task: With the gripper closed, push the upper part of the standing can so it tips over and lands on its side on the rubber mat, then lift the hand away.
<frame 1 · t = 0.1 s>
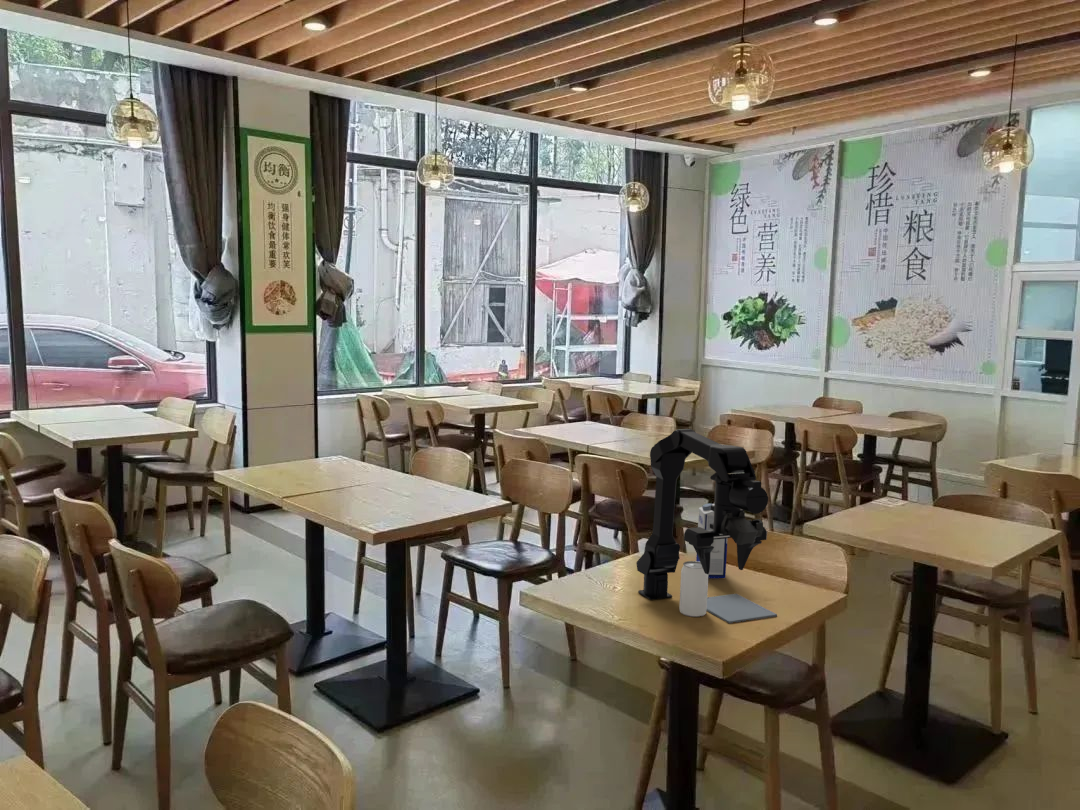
hand: (723, 571, 194), 15 cm above the table, tool pointing down, fingers open, 9 cm apart
can: (692, 613, 209), on the table
milk carton: (710, 575, 240), on the table
mat: (732, 608, 213), on the table
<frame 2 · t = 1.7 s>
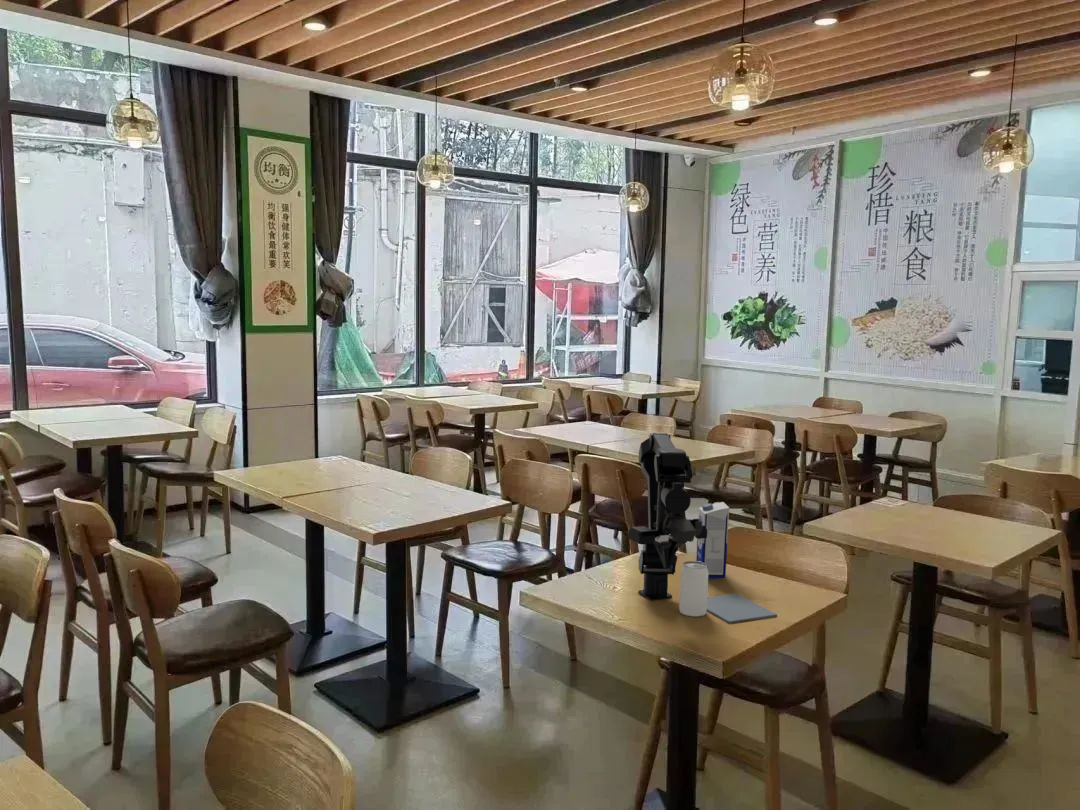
hand: (666, 568, 205), 12 cm above the table, tool pointing down, fingers closed
nothing on the table moved.
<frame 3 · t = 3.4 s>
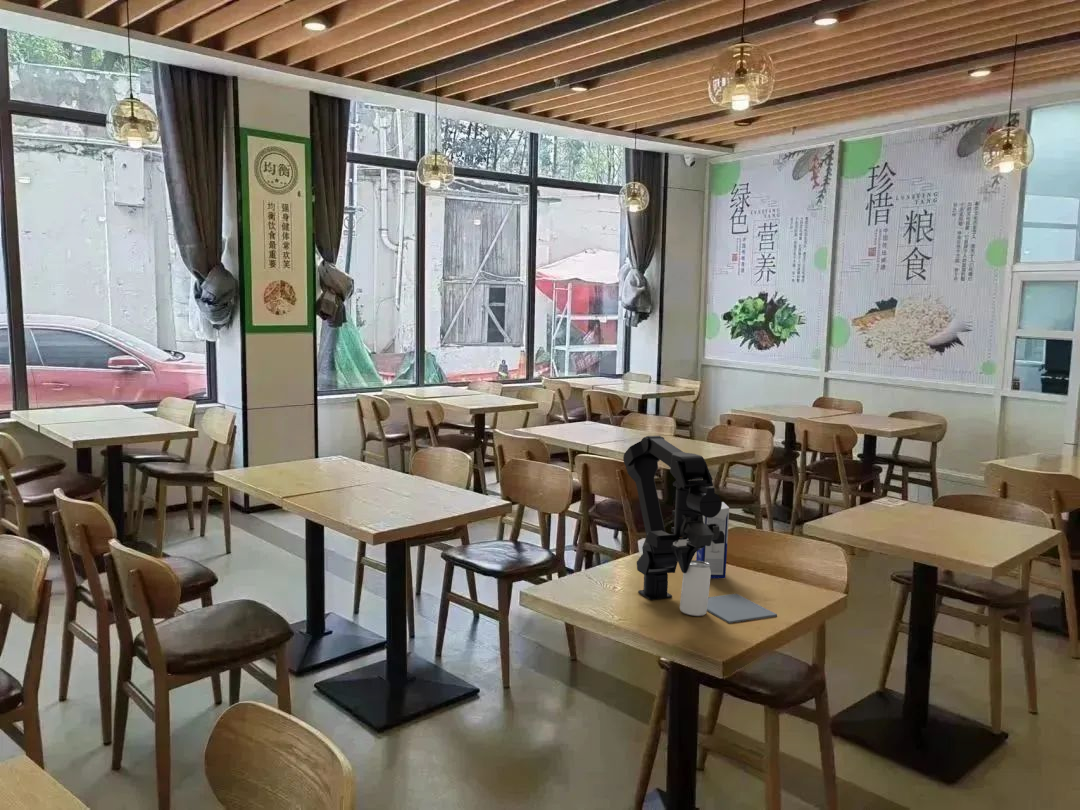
hand: (684, 572, 207), 10 cm above the table, tool pointing down, fingers closed
can: (692, 612, 209), on the table, touching gripper
everything else where it was.
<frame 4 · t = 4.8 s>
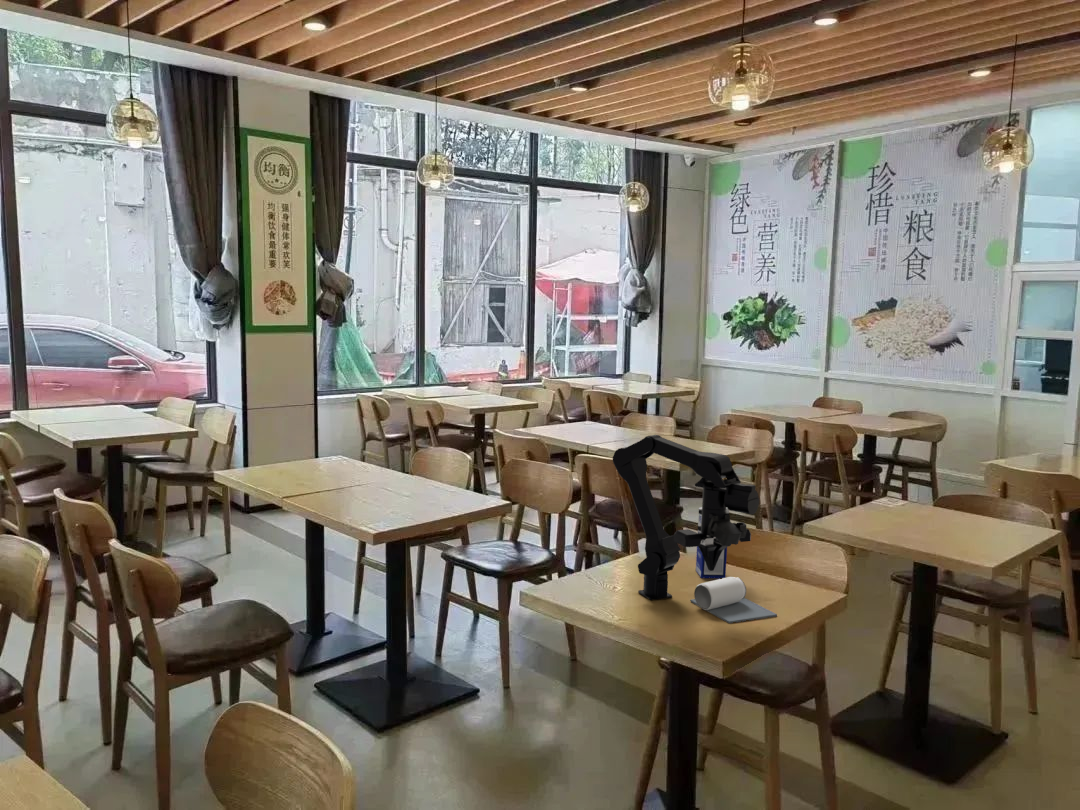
hand: (710, 570, 210), 10 cm above the table, tool pointing down, fingers closed
can: (701, 597, 210), point 3 cm above the table, touching mat
everything else where it was.
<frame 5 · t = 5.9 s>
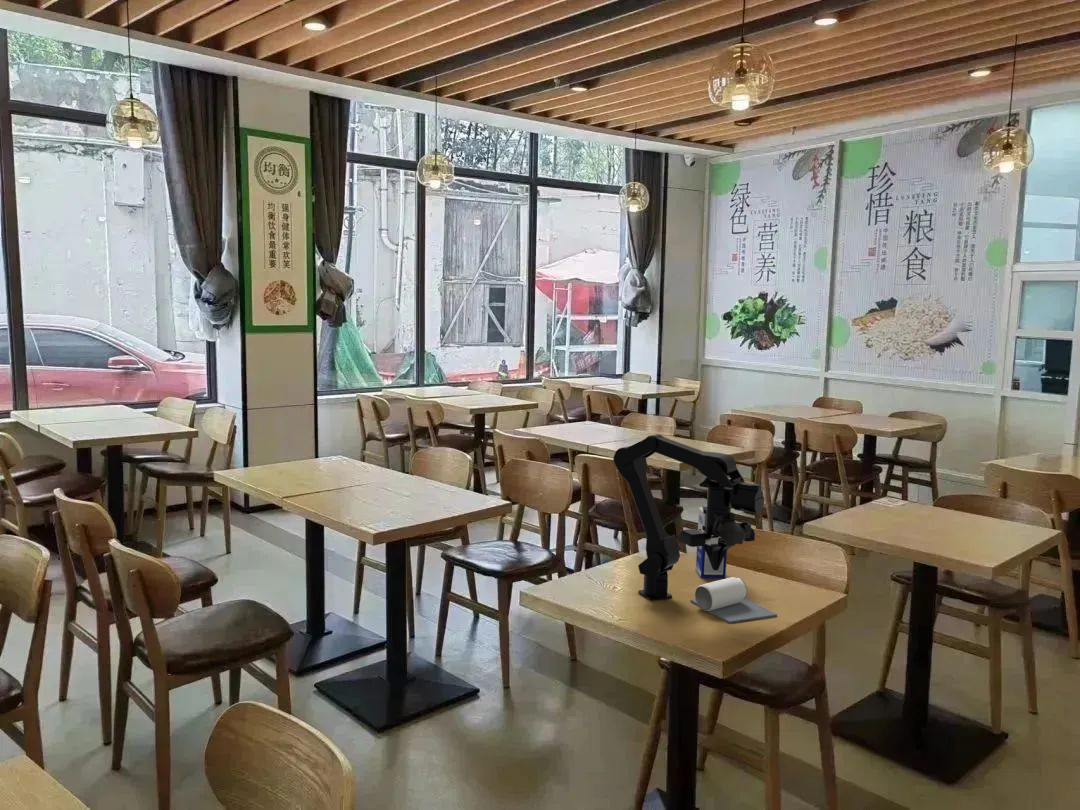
hand: (715, 570, 210), 10 cm above the table, tool pointing down, fingers closed
can: (702, 598, 210), point 3 cm above the table, touching mat
everything else where it was.
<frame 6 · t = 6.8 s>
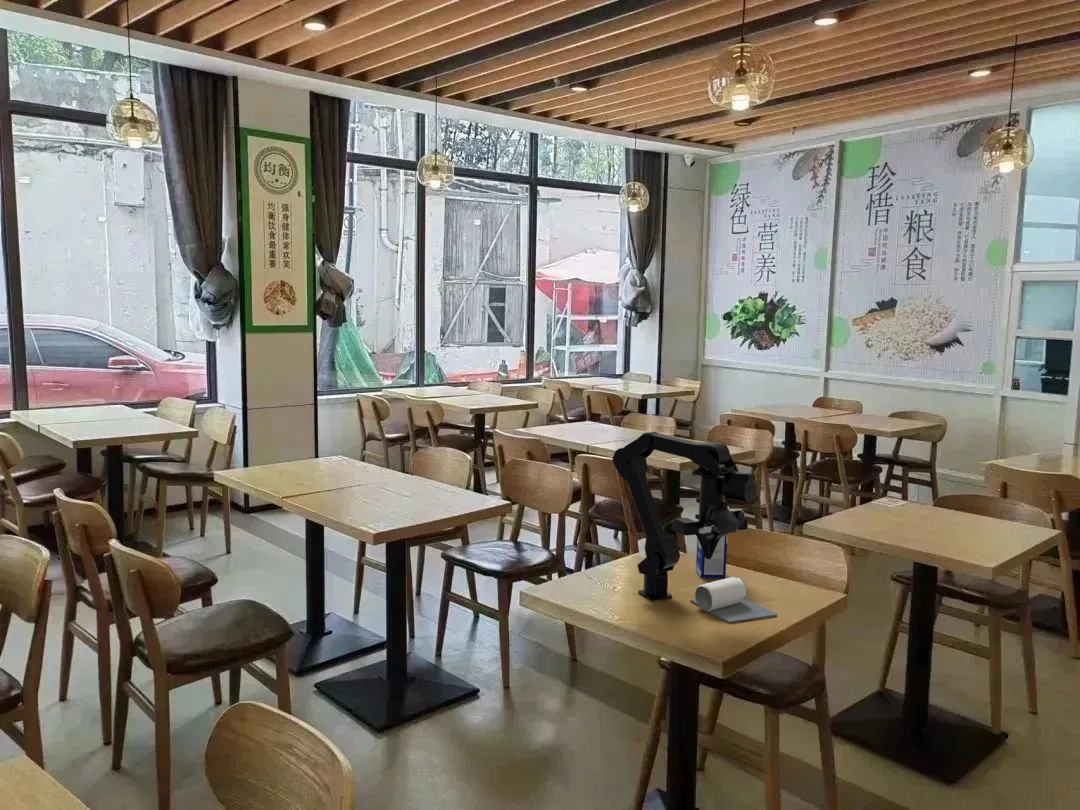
hand: (708, 558, 210), 13 cm above the table, tool pointing down, fingers closed
nothing on the table moved.
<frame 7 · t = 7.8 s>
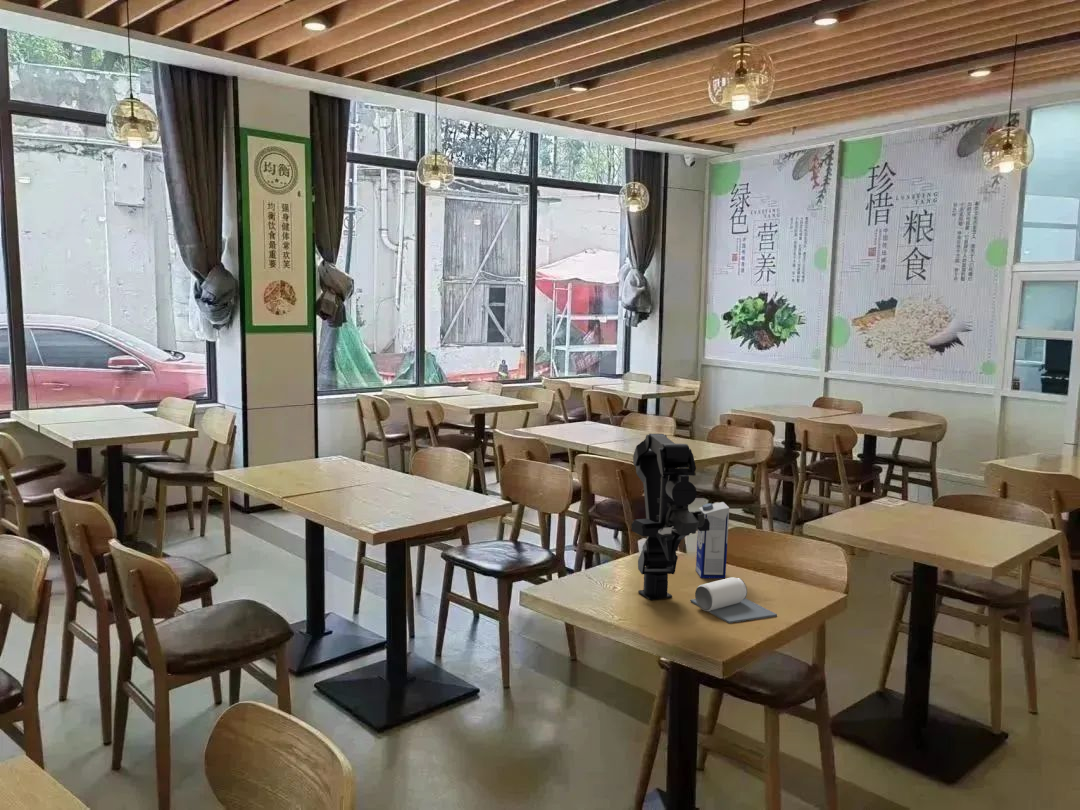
hand: (669, 560, 207), 13 cm above the table, tool pointing down, fingers closed
nothing on the table moved.
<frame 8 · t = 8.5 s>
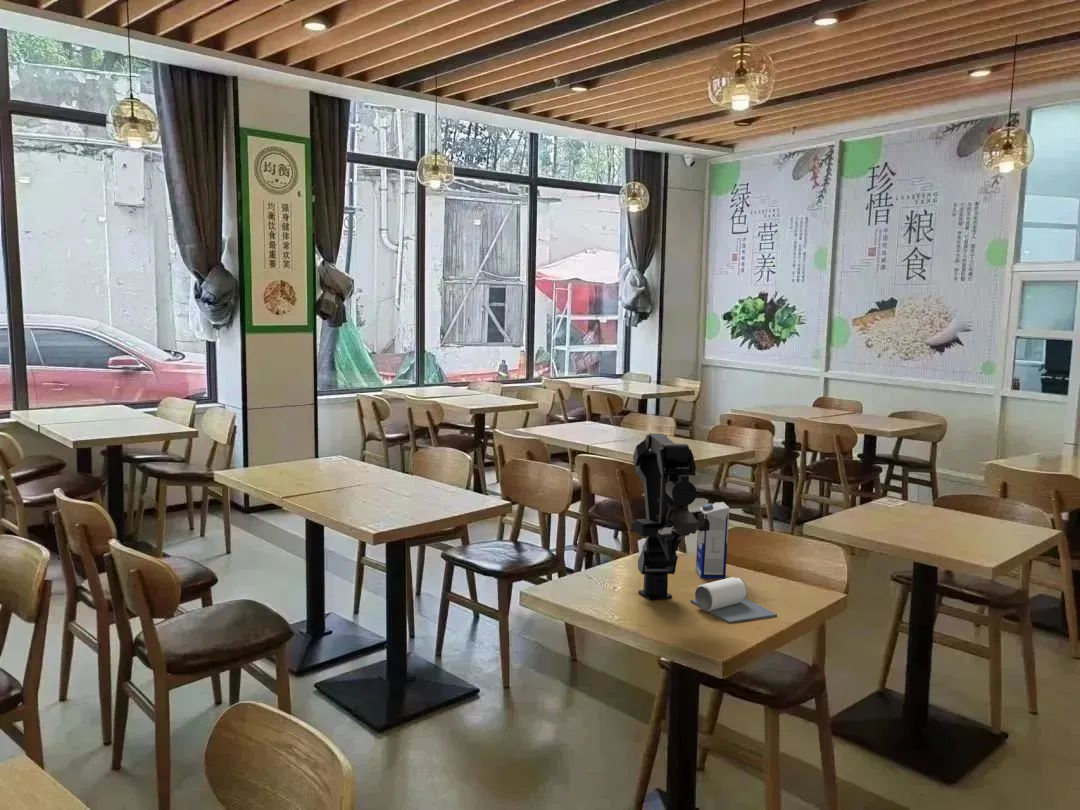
hand: (669, 560, 207), 13 cm above the table, tool pointing down, fingers closed
nothing on the table moved.
at the end: can tilted 88°; can touching mat, table; can inside the target area (3.3 cm from its centre), point 3.2 cm above the table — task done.
